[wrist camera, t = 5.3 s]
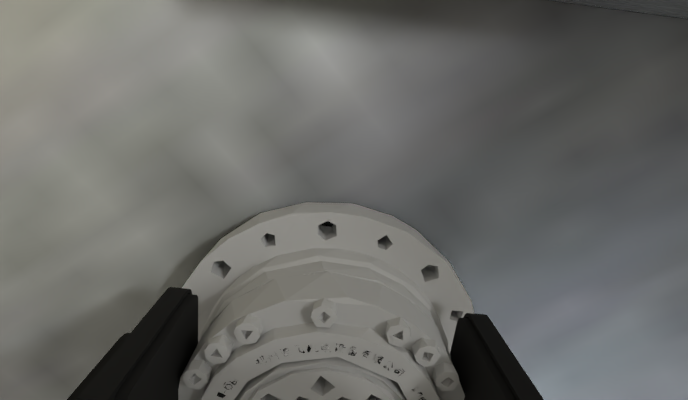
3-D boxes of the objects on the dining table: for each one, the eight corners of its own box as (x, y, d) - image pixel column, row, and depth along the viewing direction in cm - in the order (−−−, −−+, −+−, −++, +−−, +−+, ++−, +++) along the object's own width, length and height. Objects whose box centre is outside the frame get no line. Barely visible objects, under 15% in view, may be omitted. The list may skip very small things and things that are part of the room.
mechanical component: (520, 334, 14) (330, 132, 12) (603, 445, 10) (327, 158, 7) (322, 480, 16) (124, 329, 13) (317, 628, 11) (26, 441, 9)
